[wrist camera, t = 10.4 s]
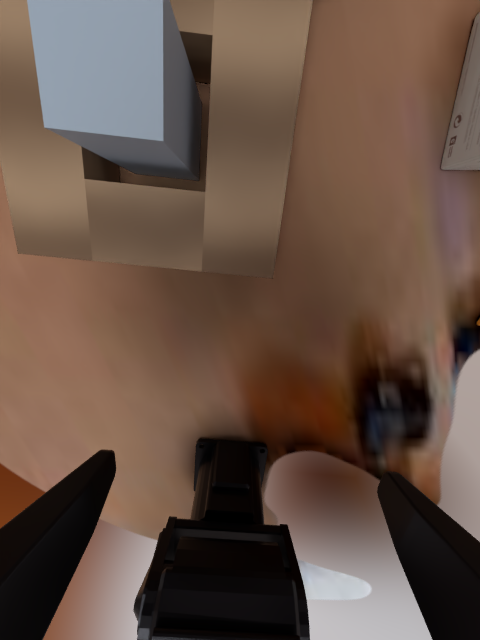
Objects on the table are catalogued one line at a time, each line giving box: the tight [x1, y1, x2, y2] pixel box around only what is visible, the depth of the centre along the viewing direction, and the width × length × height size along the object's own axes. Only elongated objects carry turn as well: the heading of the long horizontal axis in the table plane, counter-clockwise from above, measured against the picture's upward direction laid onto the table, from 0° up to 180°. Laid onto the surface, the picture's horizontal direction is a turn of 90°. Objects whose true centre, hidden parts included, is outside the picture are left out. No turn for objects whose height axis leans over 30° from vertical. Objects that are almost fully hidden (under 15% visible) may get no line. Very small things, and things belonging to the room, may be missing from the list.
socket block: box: [0, 0, 313, 279], centre depth 14 cm, size 14×14×4 cm
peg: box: [27, 0, 202, 181], centre depth 12 cm, size 4×4×8 cm
